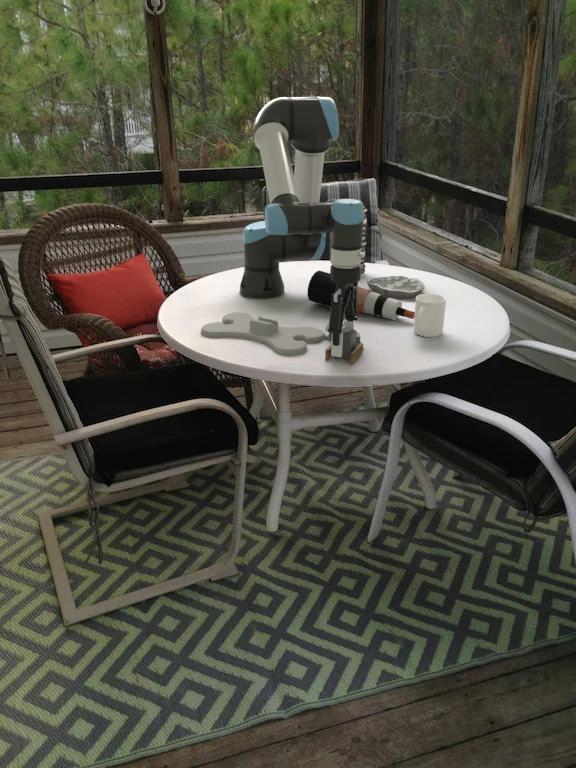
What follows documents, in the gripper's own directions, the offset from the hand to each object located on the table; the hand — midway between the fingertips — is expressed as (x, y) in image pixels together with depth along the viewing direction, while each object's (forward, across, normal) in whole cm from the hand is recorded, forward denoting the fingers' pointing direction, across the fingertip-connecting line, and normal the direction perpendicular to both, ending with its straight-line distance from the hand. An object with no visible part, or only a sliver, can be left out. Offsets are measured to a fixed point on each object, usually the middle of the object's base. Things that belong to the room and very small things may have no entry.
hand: (342, 350), depth 172 cm
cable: (+2, +36, +6) cm, 36 cm away
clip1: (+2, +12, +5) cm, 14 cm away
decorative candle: (+2, +75, +22) cm, 78 cm away
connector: (+2, +1, 0) cm, 2 cm away
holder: (+3, +7, +27) cm, 28 cm away
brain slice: (+2, +62, +2) cm, 62 cm away
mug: (+2, +25, -16) cm, 30 cm away
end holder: (+2, +1, 0) cm, 2 cm away
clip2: (+2, +8, 0) cm, 8 cm away
